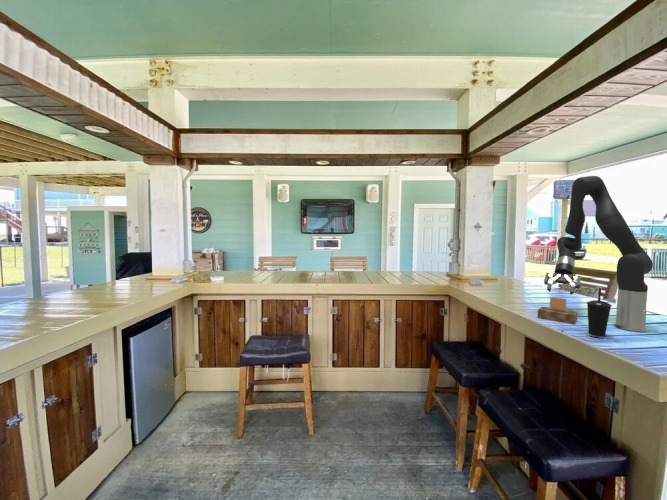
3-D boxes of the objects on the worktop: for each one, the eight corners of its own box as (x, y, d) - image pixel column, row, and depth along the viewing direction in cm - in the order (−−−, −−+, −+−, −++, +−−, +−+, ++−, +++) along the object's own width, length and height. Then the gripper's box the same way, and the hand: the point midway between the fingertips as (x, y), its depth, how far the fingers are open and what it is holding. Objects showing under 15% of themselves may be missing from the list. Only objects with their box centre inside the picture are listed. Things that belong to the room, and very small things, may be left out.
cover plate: (565, 320, 143) (566, 299, 142) (564, 320, 142) (566, 299, 141) (549, 317, 147) (550, 297, 146) (549, 317, 146) (550, 297, 145)
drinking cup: (587, 338, 121) (591, 288, 120) (581, 332, 128) (584, 285, 127) (612, 341, 118) (616, 290, 116) (605, 335, 124) (608, 287, 123)
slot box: (576, 322, 143) (577, 311, 143) (574, 326, 136) (575, 315, 136) (541, 316, 153) (541, 306, 153) (537, 320, 146) (537, 309, 145)
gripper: (547, 261, 158) (541, 285, 150) (582, 263, 148) (578, 289, 141) (548, 270, 162) (543, 294, 155) (582, 273, 152) (578, 299, 145)
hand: (560, 292), depth 148 cm, fingers open, 8 cm apart
